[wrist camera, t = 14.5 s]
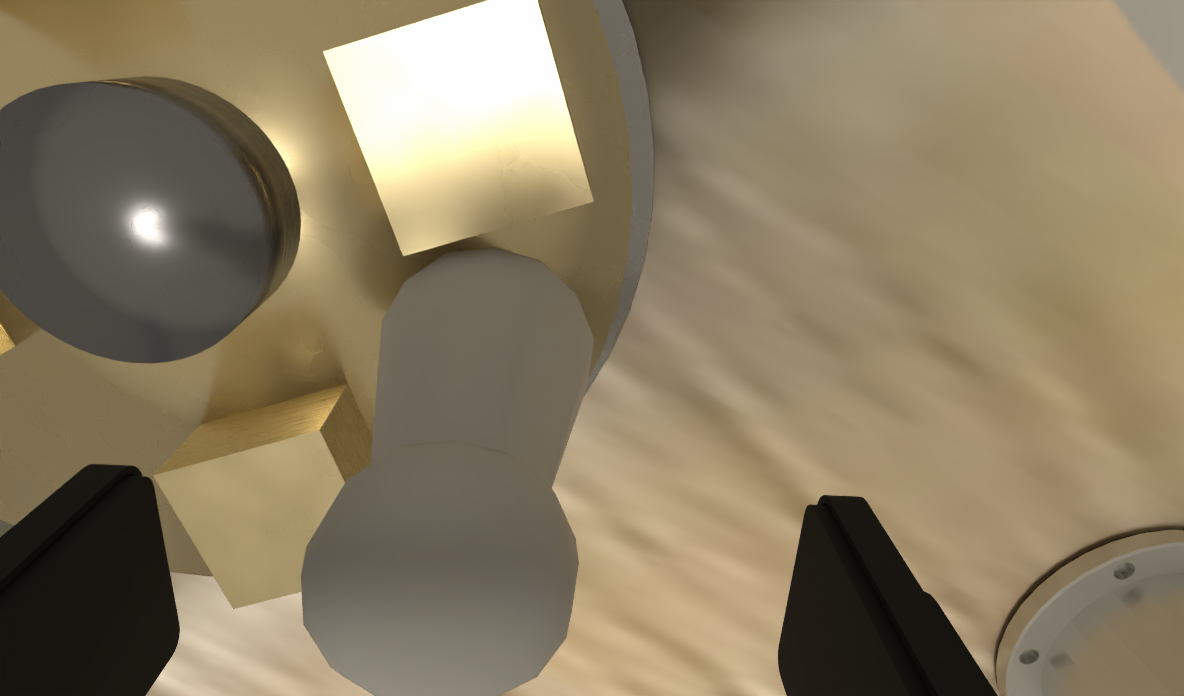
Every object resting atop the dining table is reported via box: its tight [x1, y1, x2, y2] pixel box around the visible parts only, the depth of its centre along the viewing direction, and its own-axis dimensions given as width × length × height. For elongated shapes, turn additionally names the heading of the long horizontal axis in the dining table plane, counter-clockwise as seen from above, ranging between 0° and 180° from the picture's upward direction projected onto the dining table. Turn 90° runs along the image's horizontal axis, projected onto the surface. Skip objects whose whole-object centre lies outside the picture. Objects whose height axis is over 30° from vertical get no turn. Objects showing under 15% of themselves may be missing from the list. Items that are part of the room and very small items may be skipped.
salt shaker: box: [301, 247, 594, 696], centre depth 17 cm, size 6×6×13 cm
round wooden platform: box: [0, 0, 633, 609], centre depth 21 cm, size 26×26×6 cm
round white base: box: [583, 0, 654, 397], centre depth 25 cm, size 28×28×1 cm
